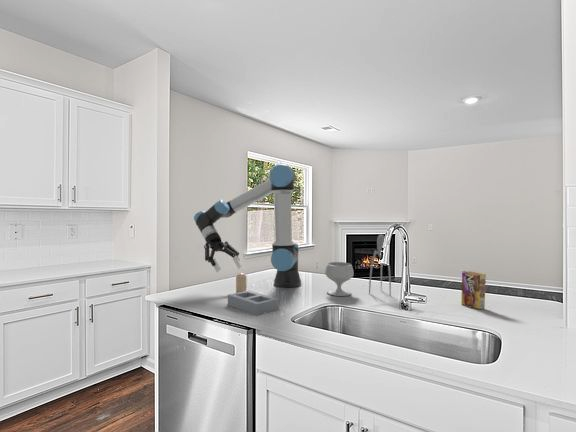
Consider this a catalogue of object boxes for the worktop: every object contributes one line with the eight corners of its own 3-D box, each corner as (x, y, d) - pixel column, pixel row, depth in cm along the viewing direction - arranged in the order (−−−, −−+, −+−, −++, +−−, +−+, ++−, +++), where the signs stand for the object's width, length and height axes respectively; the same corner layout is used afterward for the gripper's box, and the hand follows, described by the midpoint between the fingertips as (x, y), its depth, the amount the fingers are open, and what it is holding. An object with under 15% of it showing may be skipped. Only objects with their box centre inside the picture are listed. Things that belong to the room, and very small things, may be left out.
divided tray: (249, 300, 164) (249, 290, 164) (278, 309, 150) (278, 299, 150) (227, 305, 156) (227, 294, 156) (256, 315, 142) (256, 304, 141)
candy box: (485, 308, 155) (486, 273, 154) (478, 309, 153) (479, 274, 152) (467, 303, 163) (468, 270, 162) (460, 304, 161) (461, 271, 160)
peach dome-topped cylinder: (242, 294, 176) (242, 271, 175) (248, 295, 172) (248, 273, 172) (233, 295, 172) (234, 273, 172) (240, 297, 169) (240, 274, 168)
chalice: (322, 295, 174) (323, 265, 173) (327, 289, 187) (328, 261, 187) (351, 298, 170) (352, 267, 169) (354, 291, 183) (355, 262, 183)
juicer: (384, 297, 172) (385, 235, 171) (368, 293, 179) (370, 234, 178) (396, 294, 179) (397, 234, 178) (380, 290, 186) (382, 233, 185)
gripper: (227, 239, 197) (245, 270, 188) (187, 242, 178) (205, 276, 169) (233, 230, 193) (252, 261, 184) (194, 232, 175) (212, 267, 165)
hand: (229, 268), depth 176 cm, fingers open, 13 cm apart
